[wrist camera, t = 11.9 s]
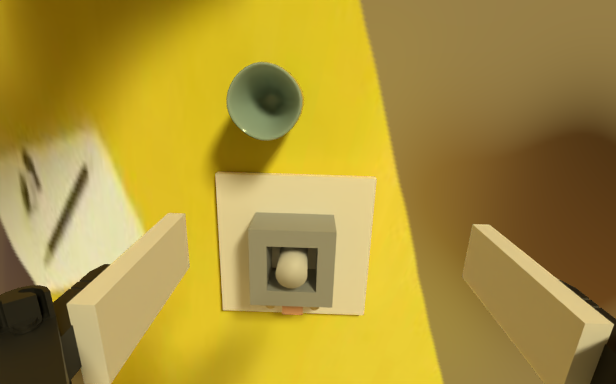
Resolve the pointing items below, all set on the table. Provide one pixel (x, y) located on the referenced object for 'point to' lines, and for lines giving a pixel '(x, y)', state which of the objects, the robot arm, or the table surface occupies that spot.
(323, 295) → the grey hollow box
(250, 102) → the cup
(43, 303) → the robot arm
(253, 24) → the table surface
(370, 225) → the post block
